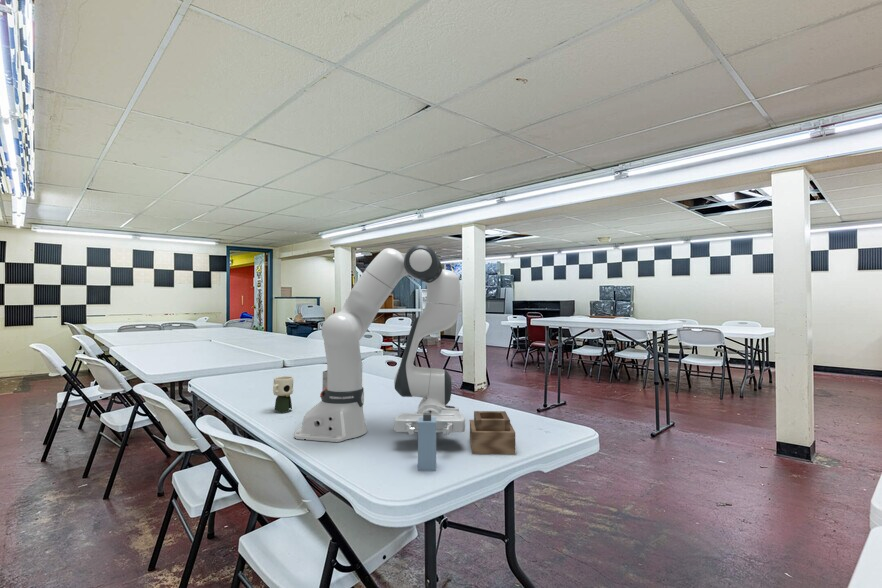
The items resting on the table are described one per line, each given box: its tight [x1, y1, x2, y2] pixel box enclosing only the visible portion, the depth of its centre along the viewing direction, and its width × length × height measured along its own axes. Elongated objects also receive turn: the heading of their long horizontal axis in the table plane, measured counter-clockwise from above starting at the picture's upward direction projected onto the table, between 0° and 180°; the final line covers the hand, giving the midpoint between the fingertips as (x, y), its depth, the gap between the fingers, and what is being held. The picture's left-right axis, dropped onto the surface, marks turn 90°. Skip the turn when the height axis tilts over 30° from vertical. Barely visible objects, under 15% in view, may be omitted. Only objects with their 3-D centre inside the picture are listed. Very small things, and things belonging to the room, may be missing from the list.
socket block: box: [469, 410, 516, 455], centre depth 120 cm, size 12×12×9 cm
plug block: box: [417, 413, 437, 472], centre depth 105 cm, size 4×4×14 cm
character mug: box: [272, 375, 294, 413], centre depth 158 cm, size 11×7×13 cm, turn 162°
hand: (428, 431), depth 111 cm, fingers open, 8 cm apart
